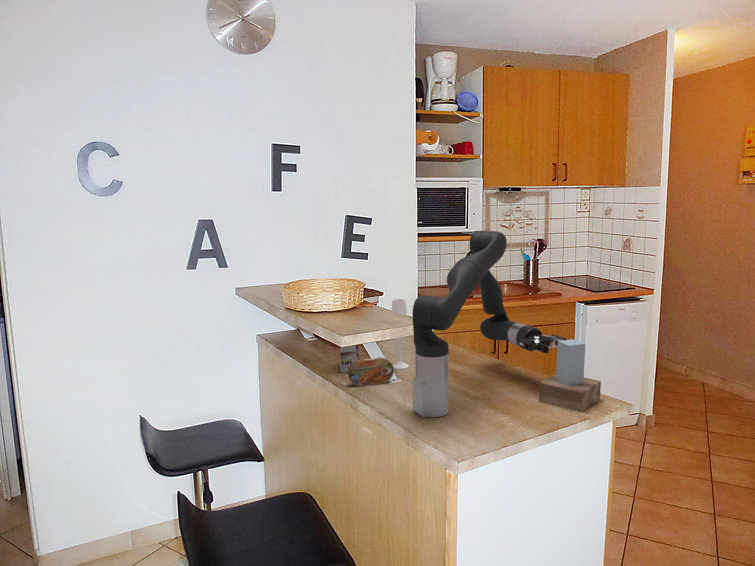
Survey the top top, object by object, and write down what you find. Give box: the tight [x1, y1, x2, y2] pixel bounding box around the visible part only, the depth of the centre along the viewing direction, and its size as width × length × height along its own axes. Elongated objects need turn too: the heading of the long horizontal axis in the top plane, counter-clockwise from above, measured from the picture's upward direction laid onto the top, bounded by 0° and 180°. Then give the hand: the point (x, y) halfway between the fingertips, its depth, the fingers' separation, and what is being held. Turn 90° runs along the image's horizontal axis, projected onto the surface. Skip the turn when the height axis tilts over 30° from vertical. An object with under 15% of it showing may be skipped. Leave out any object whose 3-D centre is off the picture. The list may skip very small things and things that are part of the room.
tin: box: [347, 357, 395, 387], centre depth 186 cm, size 15×3×8 cm, turn 105°
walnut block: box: [538, 373, 602, 413], centre depth 169 cm, size 13×13×6 cm
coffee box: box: [339, 344, 360, 373], centre depth 202 cm, size 9×6×16 cm
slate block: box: [555, 338, 586, 386], centre depth 168 cm, size 6×6×12 cm
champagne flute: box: [391, 298, 410, 370], centre depth 203 cm, size 7×7×24 cm
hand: (559, 348), depth 172 cm, fingers open, 8 cm apart
